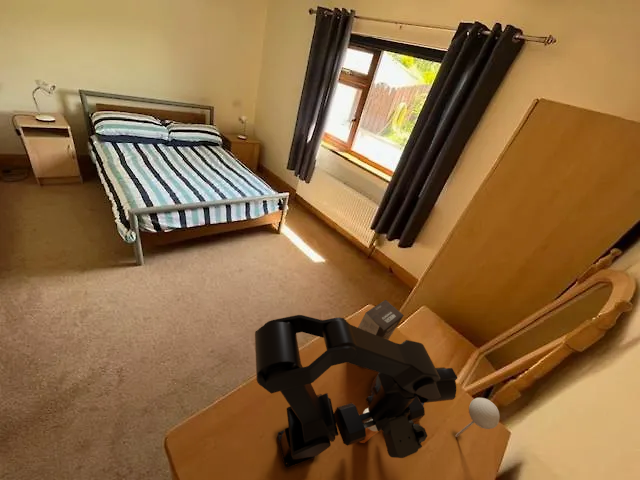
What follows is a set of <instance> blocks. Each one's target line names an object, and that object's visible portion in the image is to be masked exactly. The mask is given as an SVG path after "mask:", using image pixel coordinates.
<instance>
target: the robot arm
mask: <svg viewBox="0 0 640 480" xmlns="http://www.w3.org/2000/svg"><path fill="white" fill-rule="evenodd" d="M298 333H304V334H308V335H311V336H315V337H319V338H323V341H324V345H325V348H326V350H325V351H324V352H323V353H321V354H320V355H319V356H318V357H317V358H316V359H314V360H313V361H312V362H311V363H310V364H309V365H307V366H303V365H302V360H301V355H300V348H299V343H298V342H299V341H298V336H297V334H298ZM254 349H255V350H254V351H255V372H256V374H255V375H256V383H257V384H258V385H259V386H260V387H261V388H263V389H264V390H266V391H267V392H268V393H270V394H275V393H279V392H280V393H281V395H282V396H283V398H284V400H285V401H286V403H287V404H288V405H289V406H288V407H286V417H287V424H288V425H287V426H288V427H285V428H284V430H281V431H278V432H277V434H276V435H277V440H278V444H279V448H280V453H281V457H282V462H283V466H284V468H286V469H289V468H292V467H293V466H297V465H299V464H302V463H305V462H308V461H311V460H313V459H315V458H316V457H318V456H319V455H321V454H322V453H324V451H326V450H327V449H329V448H330V447H331V445H332V444H331V443H332V442H335V440H336V436H337V437H338V436H339V435H340V437H341V440H342V443H343V445H345V446H347V447H348V446H350V445H353V444H357V443H360V442H359V441H362V440H365V437H366V431H365V429H366V428H369V427H372V426H374V425H376V428H377V430H378V432H382V435H383V440H384V443H385V446H386V451H387V454H388V456H389V457H390V458H394V459H395V458H396V459H404V458H407V457H408V456H411V455H413V454H416V453H417V452H418V451H419V450H420V449H421V448H423V445H422V443H423V442H425V440H426V439H427V438H428V434H427V430H426V429H425V427H423V426H422V425H420V424H419V423H415V422H417V421H419V420H421V419H422V418H423V417H424V416H425V415H426V414H425V413H426V412H425V411H426V410H425V407H424V405H422V403H424V404H427V403H435V402H445V401H453V400H454V399H456V395H457V384H456V383H457V382H456V381H457V380H458V375H457V374H456V372H455V370H454V368H453V367H442V366H441V367H436V366H435V365H434V362H433V360H432V358H431V357H430V355H429V353H428V351H427V349H426V347H425V345H424V344H423V343H421V342H419V341H413V340H409V339H405V340H404V341H403V342H401V343H398V342H394V341H393V340H390V339H389V340H387V339H385V338H382V337H380V336H377V335H375V334H372V333H370V332H367V331H365V330H362V329H360V328H358V327H357V326H355V325H352V324H350V323H349V322H348V321H347V319H345V318H344V317H340V316H339V317H332V318H327V319H320V318H315V317H311V316H307V315H303V314H295V315H291V316H286V317H281V318H276V319H271V320H268V321H267V322H265V323H264V324H263V325H262V326H261V327H259V328H258V329H257V330H255V332H254ZM346 363H347V364H351V365H354V366H357V367H360V368H364V369H367V370H370V371H373V372H376V373H377V374H378V373H379V372H380V373H379V374H378V376H379V379H380V382H381V385H378V386H374V388H373V391H374V393H375V395H372V396H371V395H369V396H367V397H366V398H365V401H366V402H367V403H366V404H367V405H368V407H367V408H368V410H369V412H367V413H364V414H363V413H361V414H360V413H359V411H358V408H357V406H356V405H355V404H354V403H353V402H350V403H346V404H343V405H340V406H337V407H336V408H335V410H334V407H333V403H332V398H330V397H329V393H328V392H325V393H323V394H321V393H318V394H317V393H316V391H315V389H314V387H313V385H312V383H314V382H315V381H316V380H317V379H319V378H320V377H321V376H322V375H323V374H324V373H325V372H327V370H329V369H330V368H331V367H333V366H338V365H341V364H346ZM419 399H420V400H419ZM372 419H373V420H372ZM369 420H370V422H369ZM366 421H368V422H366ZM363 422H365V423H363Z"/></svg>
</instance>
